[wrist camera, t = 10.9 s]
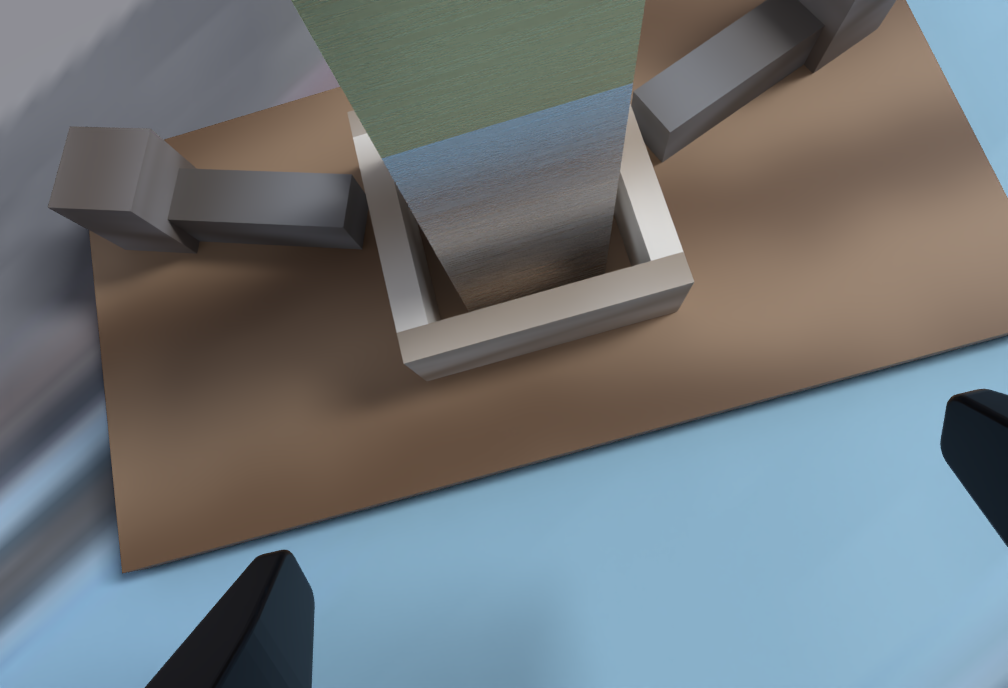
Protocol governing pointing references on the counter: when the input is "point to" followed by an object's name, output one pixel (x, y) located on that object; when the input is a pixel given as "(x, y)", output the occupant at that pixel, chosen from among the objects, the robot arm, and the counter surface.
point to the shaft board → (537, 317)
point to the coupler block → (493, 126)
